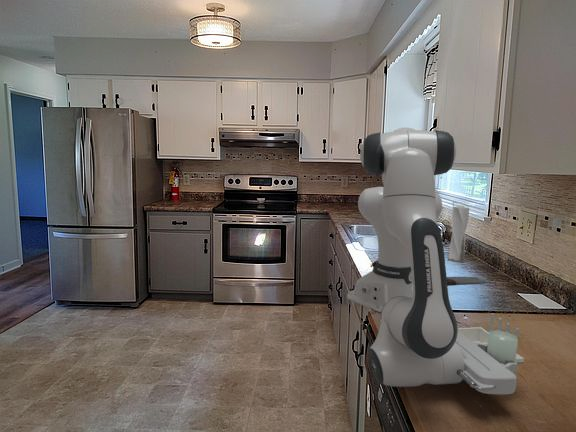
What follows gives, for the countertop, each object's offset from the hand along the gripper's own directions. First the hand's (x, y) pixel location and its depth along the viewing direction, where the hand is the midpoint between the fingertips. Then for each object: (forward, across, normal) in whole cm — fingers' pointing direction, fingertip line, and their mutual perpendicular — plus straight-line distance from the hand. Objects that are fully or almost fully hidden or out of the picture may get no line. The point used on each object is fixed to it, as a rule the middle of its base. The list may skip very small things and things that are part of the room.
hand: (504, 357), depth 84 cm
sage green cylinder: (-1, 0, +6) cm, 6 cm away
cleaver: (+27, +66, +7) cm, 72 cm away
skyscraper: (+50, +97, +6) cm, 109 cm away
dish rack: (+4, +13, +6) cm, 15 cm away
